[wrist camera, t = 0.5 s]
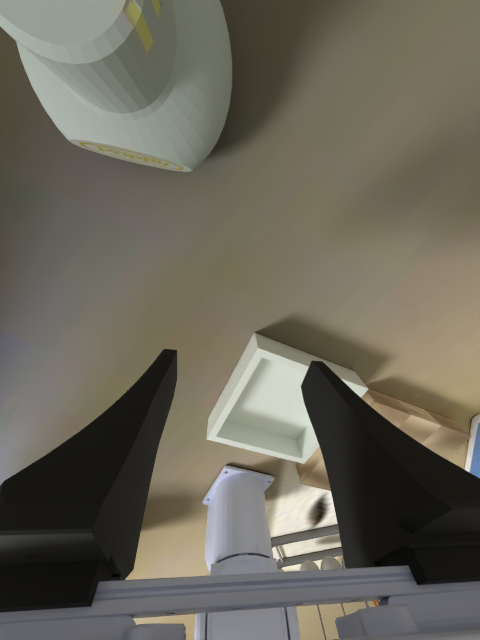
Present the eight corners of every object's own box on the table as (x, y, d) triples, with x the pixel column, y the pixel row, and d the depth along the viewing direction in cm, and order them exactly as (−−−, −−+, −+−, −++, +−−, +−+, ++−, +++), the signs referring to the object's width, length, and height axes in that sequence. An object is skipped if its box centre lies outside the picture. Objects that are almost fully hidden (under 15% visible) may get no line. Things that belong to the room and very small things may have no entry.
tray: (297, 441, 30) (304, 463, 28) (208, 417, 28) (206, 439, 25) (353, 370, 26) (368, 388, 23) (254, 332, 23) (258, 347, 20)
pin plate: (379, 486, 36) (389, 504, 34) (295, 465, 33) (301, 483, 30) (453, 420, 30) (472, 436, 28) (362, 386, 27) (375, 401, 25)
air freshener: (240, 34, 14) (266, -312, 5) (221, 183, 17) (216, 142, 8) (53, -23, 13) (-390, -647, 4) (71, 150, 16) (-134, 58, 7)
